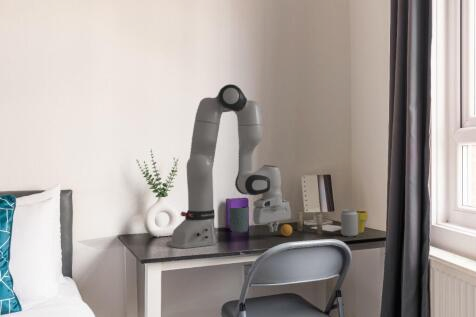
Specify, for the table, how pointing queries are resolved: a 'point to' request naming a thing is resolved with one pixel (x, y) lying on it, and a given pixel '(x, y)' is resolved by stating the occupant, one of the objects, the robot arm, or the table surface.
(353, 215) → the can
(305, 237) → the table surface
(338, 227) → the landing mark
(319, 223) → the right post
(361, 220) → the plant pot
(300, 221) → the left post
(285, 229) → the ball
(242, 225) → the dark grey cylinder
